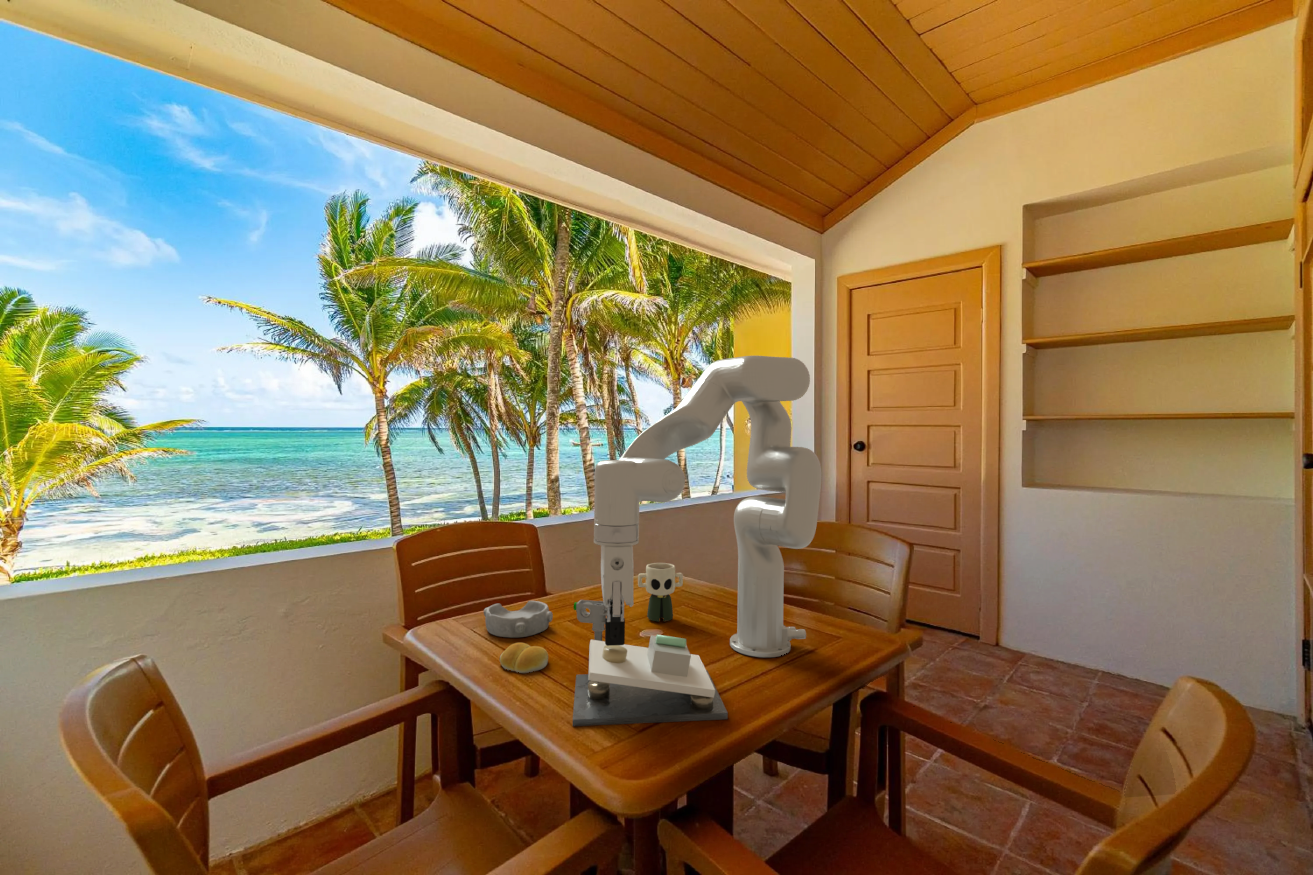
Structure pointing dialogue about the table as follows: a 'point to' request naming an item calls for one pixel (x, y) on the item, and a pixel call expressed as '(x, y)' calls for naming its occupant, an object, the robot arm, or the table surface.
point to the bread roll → (524, 658)
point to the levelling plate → (643, 672)
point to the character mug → (660, 589)
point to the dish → (518, 620)
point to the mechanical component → (592, 615)
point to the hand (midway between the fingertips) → (614, 643)
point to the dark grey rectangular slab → (639, 704)
